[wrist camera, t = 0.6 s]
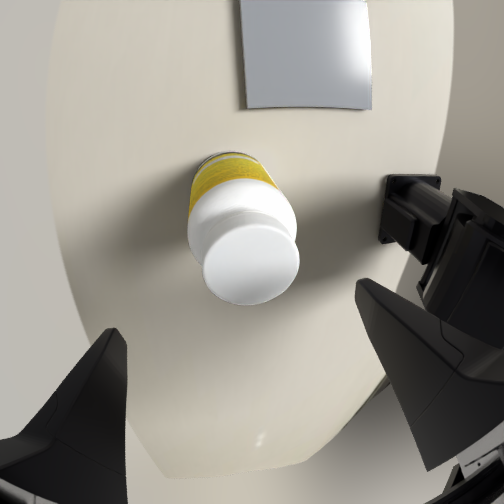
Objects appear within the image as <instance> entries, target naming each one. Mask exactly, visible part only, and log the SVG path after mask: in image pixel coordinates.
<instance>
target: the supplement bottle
mask: <svg viewBox="0 0 504 504" xmlns="http://www.w3.org/2000/svg"><path fill="white" fill-rule="evenodd" d="M296 231H297V225H296V218H295V215H294V212H293V209H292V207H291V205H290V204H289V202H288V200H287V199H286V198H285V196H284V195H283V193H282V192H281V191H280V189H279V188H278V186H277V185H276V184H275V182H274V181H273V179H272V178H271V177H270V175H269V174H268V172H267V171H266V169H265V168H264V167H263V166H262V164H261V163H260V162H259V161H258V160H256V159H255V158H254V157H252V156H250V155H248V154H246V153H243V152H239V151H226V152H221V153H218V154H215V155H213V156H211V157H210V158H208V159H207V160H206V161H205V162H204V163H203V164H202V165H201V166H200V167H199V168H198V170H197V172H196V174H195V176H194V178H193V181H192V187H191V195H190V204H189V214H188V223H187V233H188V242H189V246H190V249H191V251H192V254H193V255H194V257H195V259H196V260H197V261H198V263H199V264H200V265H201V266H202V275H203V278H204V281H205V283H206V285H207V287H208V288H209V289H210V291H211V292H212V293H213V294H214V295H216V296H217V297H218V298H220V299H222V300H224V301H226V302H228V303H232V304H236V305H256V304H260V303H264V302H267V301H269V300H271V299H273V298H275V297H277V296H278V295H280V294H281V293H283V292H284V291H285V290H286V289H287V288H288V287H289V286H290V284H291V283H292V282H293V280H294V278H295V276H296V274H297V272H298V268H299V252H298V249H297V246H296V244H295V238H296Z"/></svg>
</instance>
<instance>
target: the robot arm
mask: <svg viewBox="0 0 504 504" xmlns="http://www.w3.org/2000/svg"><path fill="white" fill-rule="evenodd" d="M393 179H394V181H393V183H392V180H393ZM436 180H437V181H436ZM440 185H441V178H440V177H439V176H437V175H422V174H392V175H390V176H389V177H388V179H387V185H386V193H385V200H384V205H383V212H382V218H381V224H380V231H379V236H378V240H379V241H380V243H382V244H387V243H393V242H397V243H398V244H399V245H400V246H401V247H402V248H403V249H404V250H405V251H409V252H410V253H411V254H412V255H413V256H414V257H415V258H416V259H417V260H418V261H419V262H420V263H421V264H422V265H425V264H427V267H426V269H425V271H424V273H423V276H422V278H421V280H420V281H419V282H418V284H417V286H416V288H417V290H418V293H419V295H420V298H421V300H422V302H423V305H424V307H425V310H426V311H425V310H424V309H422V308H420V307H418V306H417V305H415V304H413V303H412V302H410V301H408V300H406V299H405V298H403V297H401V296H399V295H398V294H396V293H394V292H392V291H391V290H389V289H387V288H385V287H383V286H382V285H380V284H378V283H376V282H375V281H373V280H371V279H369V278H363V279H359V280H357V282H356V289H355V302H356V305H357V308H358V310H359V313H360V316H361V318H362V321H363V324H364V326H365V329H366V332H367V334H368V337H369V339H370V341H371V343H372V345H373V347H374V349H375V351H376V353H377V355H378V357H379V360H380V362H381V364H382V366H383V368H384V370H385V372H386V374H387V376H388V379H389V381H390V383H391V385H392V387H393V390H394V392H395V394H396V396H397V398H398V401H399V403H400V405H401V408H402V410H403V412H404V415H405V417H406V419H407V422H408V424H409V426H410V429H411V432H412V434H413V437H414V439H415V441H416V444H417V447H418V449H419V452H420V454H421V457H422V460H423V462H424V465H425V468H426V470H427V472H428V471H430V470H432V469H434V468H436V467H437V466H439V465H441V464H442V463H444V462H446V461H448V460H449V459H451V458H453V457H454V456H456V457H457V459H458V462H459V463H458V464H457V465H455V466H454V467H453V469H452V472H451V474H450V477H449V479H448V482H447V484H446V486H445V488H444V491H443V493H442V494H440V495H439V496H437V497H436V498H434V499H432V500H430V501H428V502H427V503H425V504H504V208H503V207H502V206H500V205H498V204H497V203H495V202H493V201H492V200H490V199H488V198H486V197H484V196H482V195H478V194H475V193H472V192H468V191H464V190H460V189H457V188H454V190H453V193H452V195H453V197H452V198H451V197H449V196H447V195H446V194H444V193H443V192H441V191H439V190H440ZM384 237H385V238H384ZM383 238H384V239H383ZM126 398H127V344H126V341H125V340H124V338H123V337H122V335H121V334H120V332H119V331H118V329H116V328H108V329H106V330H105V331H104V332H103V333H102V334H101V335H100V337H99V338H98V339H97V340H96V341H95V342H94V344H93V345H92V346H91V347H90V348H89V350H88V351H87V352H86V353H85V354H84V356H83V357H82V358H81V359H80V360H79V362H78V363H77V364H76V366H75V367H74V368H73V369H72V370H71V371H70V373H69V374H68V375H67V376H66V378H65V379H64V380H63V381H62V383H61V384H60V385H59V387H58V388H57V389H56V391H55V392H54V393H53V394H52V396H51V397H50V398H49V399H48V401H47V402H46V403H45V404H44V406H43V407H42V408H41V409H40V410H39V411H38V413H37V414H36V415H35V416H34V417H33V418H32V419H31V421H30V422H29V423H28V424H27V425H26V426H25V428H24V429H23V430H22V431H21V432H20V433H19V434H17V435H16V436H14V437H11V438H7V439H2V440H0V504H128V500H127V485H126V466H125V421H126Z"/></svg>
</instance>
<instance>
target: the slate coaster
mask: <svg viewBox="0 0 504 504" xmlns="http://www.w3.org/2000/svg"><path fill="white" fill-rule="evenodd" d="M239 4H240V19H241V33H242V48H243V62H244V77H245V92H246V108H262V107H337V108H353V109H365V110H372V68H371V46H370V32H369V20H368V11H367V2H366V1H363V0H239Z"/></svg>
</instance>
